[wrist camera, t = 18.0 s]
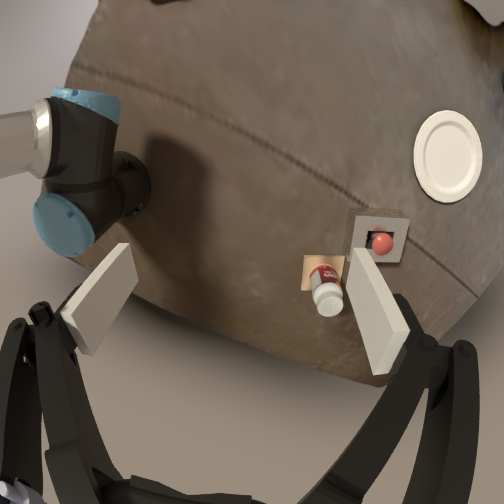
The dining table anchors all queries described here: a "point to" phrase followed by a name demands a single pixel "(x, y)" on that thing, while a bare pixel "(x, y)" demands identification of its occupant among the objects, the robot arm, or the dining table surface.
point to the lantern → (503, 79)
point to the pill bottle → (326, 290)
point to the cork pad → (315, 260)
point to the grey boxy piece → (375, 220)
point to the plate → (447, 156)
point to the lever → (381, 242)
